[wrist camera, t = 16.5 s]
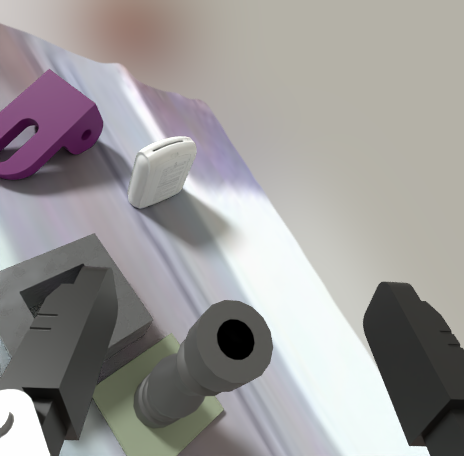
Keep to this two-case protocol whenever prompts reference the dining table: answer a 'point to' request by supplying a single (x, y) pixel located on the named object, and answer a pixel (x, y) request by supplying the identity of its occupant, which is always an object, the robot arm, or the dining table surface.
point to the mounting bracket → (47, 124)
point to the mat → (124, 417)
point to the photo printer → (160, 171)
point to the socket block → (50, 278)
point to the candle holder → (206, 364)
